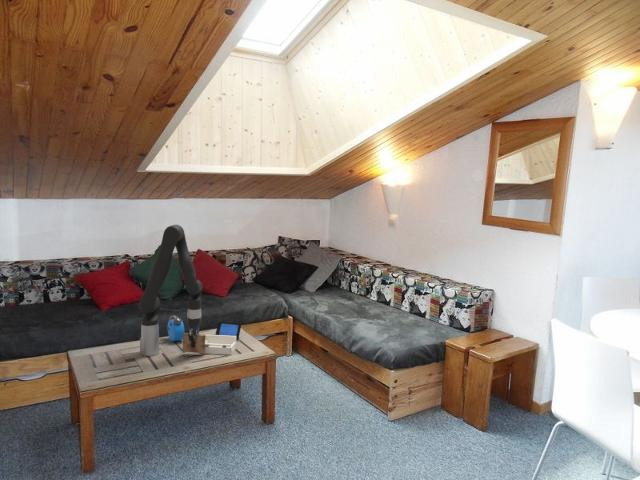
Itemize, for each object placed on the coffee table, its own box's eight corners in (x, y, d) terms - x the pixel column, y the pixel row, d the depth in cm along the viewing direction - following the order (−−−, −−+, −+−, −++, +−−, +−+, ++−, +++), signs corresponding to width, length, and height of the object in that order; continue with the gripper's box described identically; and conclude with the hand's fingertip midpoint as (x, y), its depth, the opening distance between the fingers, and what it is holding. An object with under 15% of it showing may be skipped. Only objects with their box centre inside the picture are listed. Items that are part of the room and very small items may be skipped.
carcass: (199, 353, 270) (199, 341, 270) (206, 346, 282) (206, 334, 282) (231, 354, 269) (231, 342, 268) (236, 347, 281) (236, 335, 281)
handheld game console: (209, 342, 290) (209, 327, 289) (218, 335, 303) (218, 321, 302) (233, 344, 287) (233, 329, 286) (241, 337, 300) (241, 323, 299)
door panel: (182, 351, 267) (182, 334, 266) (184, 350, 269) (184, 333, 268) (203, 353, 266) (204, 335, 265) (205, 351, 269) (205, 334, 267)
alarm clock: (184, 342, 287) (184, 318, 286) (174, 344, 284) (174, 320, 282) (177, 336, 298) (176, 313, 296) (167, 338, 294) (166, 314, 292)
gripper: (191, 312, 272) (191, 341, 274) (183, 319, 259) (183, 350, 261) (204, 313, 272) (204, 342, 274) (196, 320, 258) (196, 351, 260)
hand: (193, 346), depth 267 cm, fingers closed on door panel, 2 cm apart
